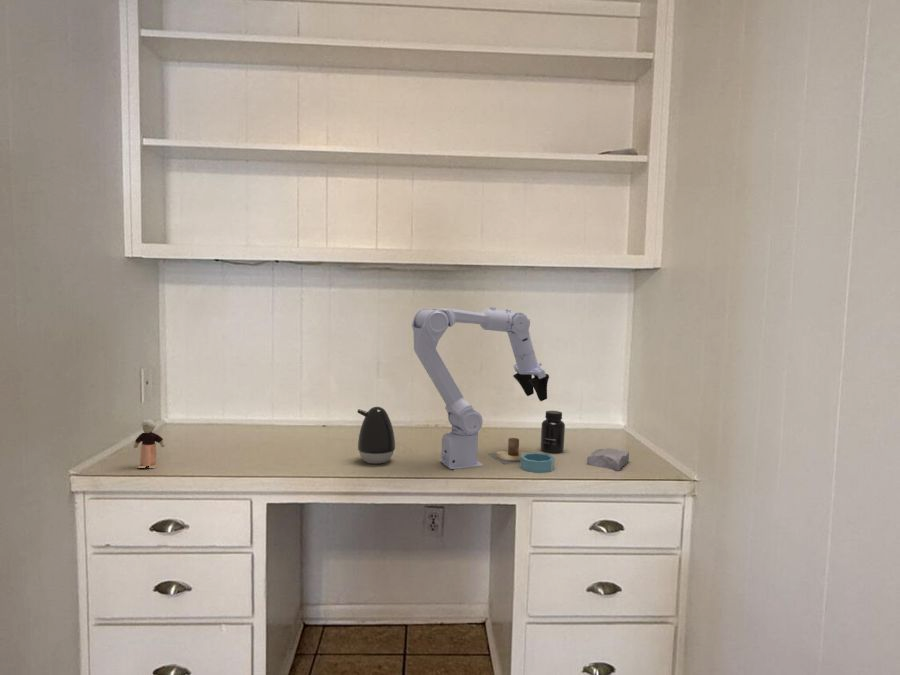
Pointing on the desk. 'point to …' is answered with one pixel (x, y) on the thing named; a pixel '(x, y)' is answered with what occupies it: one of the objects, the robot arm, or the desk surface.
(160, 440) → the grandmother figurine
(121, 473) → the desk surface
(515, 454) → the lid
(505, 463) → the mat
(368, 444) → the pump dispenser
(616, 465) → the stone block
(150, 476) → the desk surface
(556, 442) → the supplement bottle
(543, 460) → the bowl
